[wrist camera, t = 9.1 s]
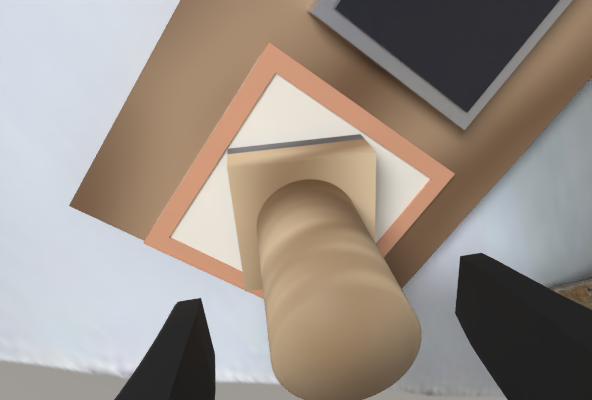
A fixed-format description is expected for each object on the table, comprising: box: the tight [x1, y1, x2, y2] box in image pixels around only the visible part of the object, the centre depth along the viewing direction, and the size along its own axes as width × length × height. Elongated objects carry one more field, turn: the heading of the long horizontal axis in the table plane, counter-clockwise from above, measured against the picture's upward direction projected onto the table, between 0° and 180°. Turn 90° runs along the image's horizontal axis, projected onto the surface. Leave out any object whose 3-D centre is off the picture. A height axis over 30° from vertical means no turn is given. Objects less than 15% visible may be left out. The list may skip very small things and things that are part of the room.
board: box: [69, 0, 592, 289], centre depth 17 cm, size 14×18×1 cm
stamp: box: [227, 134, 421, 400], centre depth 14 cm, size 5×5×8 cm
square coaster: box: [144, 42, 455, 299], centre depth 17 cm, size 9×9×1 cm
